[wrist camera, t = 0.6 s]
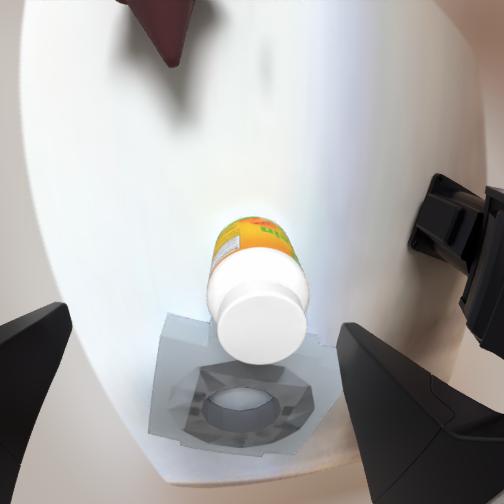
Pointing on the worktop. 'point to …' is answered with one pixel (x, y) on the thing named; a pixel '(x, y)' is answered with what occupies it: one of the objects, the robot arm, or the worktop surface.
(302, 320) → the supplement bottle
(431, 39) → the worktop surface
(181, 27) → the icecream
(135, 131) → the worktop surface
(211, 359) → the socket block
